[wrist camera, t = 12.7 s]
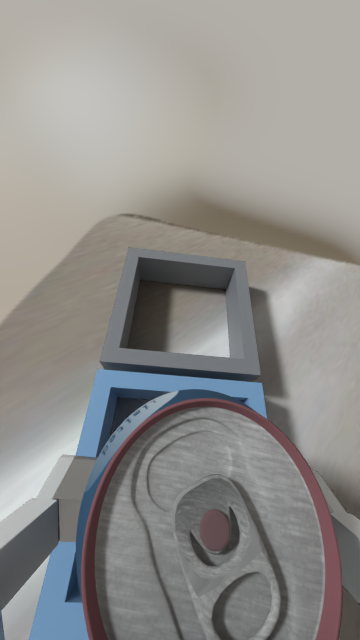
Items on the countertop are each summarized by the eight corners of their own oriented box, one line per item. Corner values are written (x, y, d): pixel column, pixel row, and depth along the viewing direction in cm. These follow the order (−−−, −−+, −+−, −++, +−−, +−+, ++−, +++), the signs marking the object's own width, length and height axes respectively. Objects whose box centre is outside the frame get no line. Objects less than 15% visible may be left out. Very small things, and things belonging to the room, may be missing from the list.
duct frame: (234, 282, 26) (245, 261, 23) (265, 601, 13) (298, 645, 10) (131, 270, 26) (128, 247, 23) (57, 597, 13) (27, 643, 10)
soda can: (110, 440, 16) (26, 438, 5) (196, 401, 18) (259, 344, 7) (141, 563, 13) (92, 1082, 2) (239, 501, 15) (446, 645, 4)
